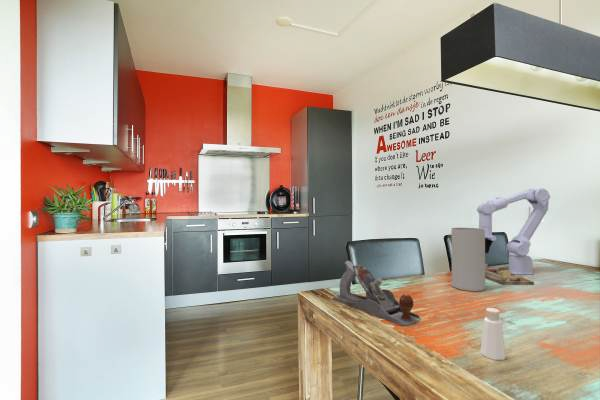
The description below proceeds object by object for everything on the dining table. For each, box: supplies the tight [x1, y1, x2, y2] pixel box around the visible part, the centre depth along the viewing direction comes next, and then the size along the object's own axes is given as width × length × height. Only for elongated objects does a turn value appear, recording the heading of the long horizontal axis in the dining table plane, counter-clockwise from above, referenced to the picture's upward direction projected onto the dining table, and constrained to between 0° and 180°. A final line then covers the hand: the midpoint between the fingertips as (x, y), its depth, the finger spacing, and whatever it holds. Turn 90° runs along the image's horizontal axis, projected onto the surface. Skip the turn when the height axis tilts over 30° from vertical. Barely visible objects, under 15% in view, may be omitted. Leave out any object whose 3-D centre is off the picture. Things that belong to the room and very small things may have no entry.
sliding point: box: [499, 269, 524, 280], centre depth 141 cm, size 9×2×4 cm, turn 90°
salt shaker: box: [479, 307, 507, 361], centre depth 77 cm, size 5×5×11 cm
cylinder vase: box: [451, 227, 486, 292], centre depth 135 cm, size 12×12×25 cm
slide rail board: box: [485, 270, 535, 286], centre depth 150 cm, size 14×22×1 cm, turn 0°
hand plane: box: [331, 260, 422, 327], centre depth 109 cm, size 9×33×15 cm, turn 35°
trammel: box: [485, 263, 509, 282], centre depth 150 cm, size 9×21×4 cm, turn 0°
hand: (485, 253), depth 163 cm, fingers closed
